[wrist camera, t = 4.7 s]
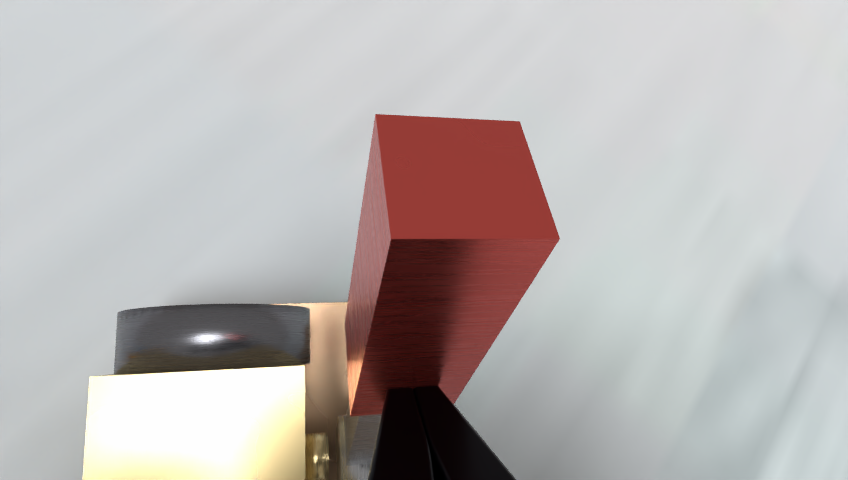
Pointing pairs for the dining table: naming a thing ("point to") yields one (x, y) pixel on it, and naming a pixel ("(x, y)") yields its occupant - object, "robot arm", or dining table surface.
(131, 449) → the valve
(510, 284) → the lever
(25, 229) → the dining table surface
